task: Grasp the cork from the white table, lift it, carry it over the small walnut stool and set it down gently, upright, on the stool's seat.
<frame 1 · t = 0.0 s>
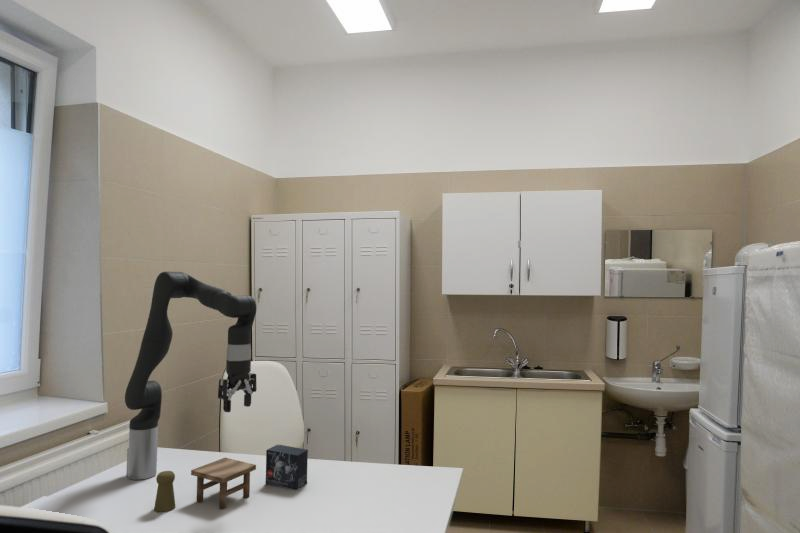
hand: (237, 409, 168), 29 cm above the table, fingers open, 8 cm apart
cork: (164, 509, 162), on the table
stool: (223, 498, 170), on the table
small box: (286, 484, 183), on the table
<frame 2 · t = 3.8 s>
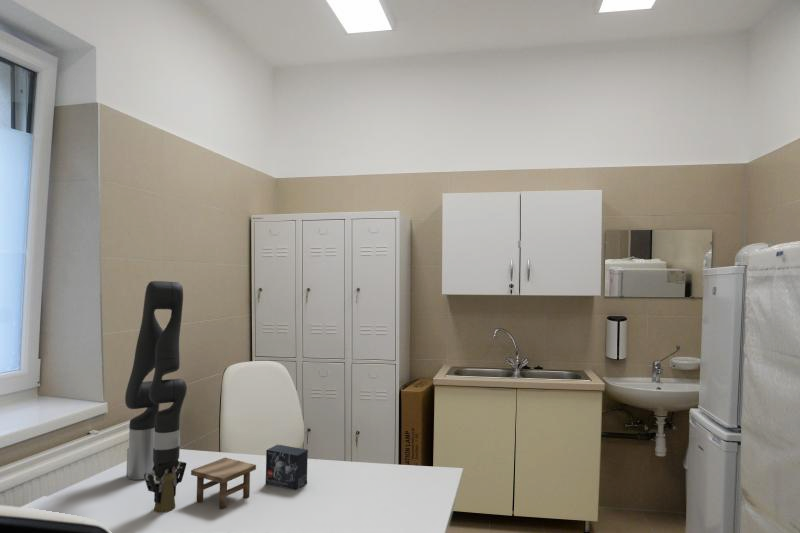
hand: (164, 500, 162), 2 cm above the table, fingers closed on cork, 4 cm apart
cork: (164, 508, 162), on the table, touching gripper
everything else where it was.
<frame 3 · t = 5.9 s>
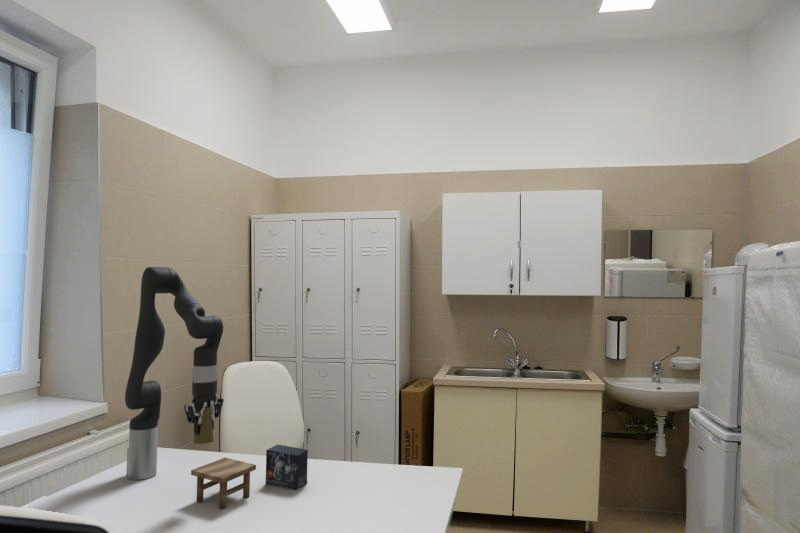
hand: (203, 433, 167), 22 cm above the table, fingers closed on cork, 4 cm apart
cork: (203, 441, 167), point 19 cm above the table, touching gripper
everything else where it was.
when the fingers open (14 cm above the table, at t = 8.0 s): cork drops 1 cm, resting on stool.
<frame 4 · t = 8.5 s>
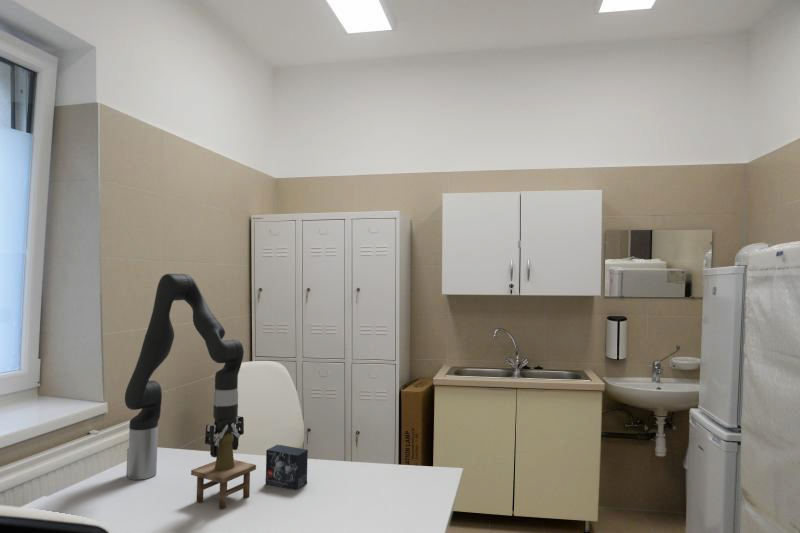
hand: (224, 453, 170), 15 cm above the table, fingers open, 8 cm apart
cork: (224, 467, 170), point 10 cm above the table, touching stool
everything else where it was.
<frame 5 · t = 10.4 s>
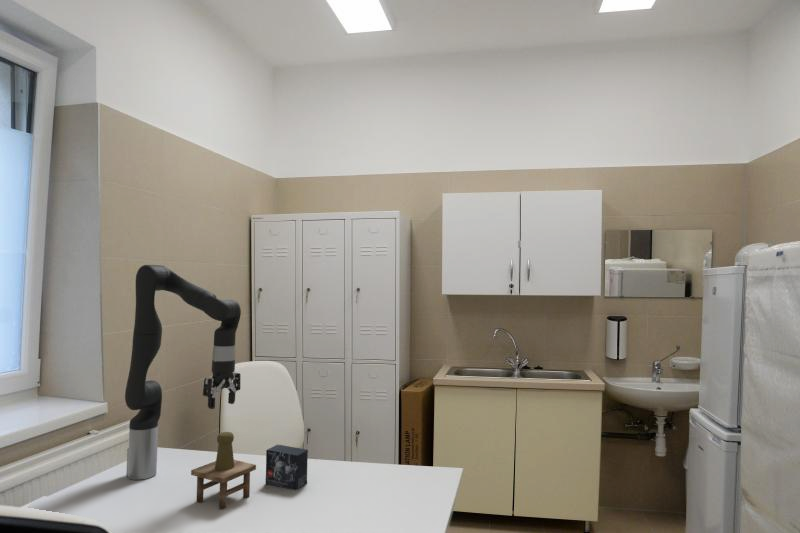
hand: (221, 406, 180), 27 cm above the table, fingers open, 8 cm apart
nothing on the table moved.
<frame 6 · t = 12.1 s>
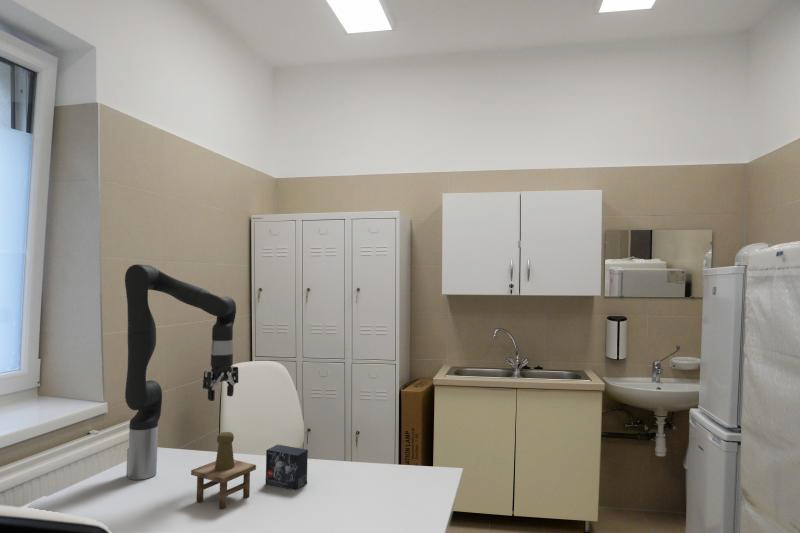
hand: (220, 398, 188), 28 cm above the table, fingers open, 8 cm apart
nothing on the table moved.
at the end: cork inside the target area on the stool (0.3 cm from its centre), point 9.8 cm above the stool's base; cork tilted 0°; the gripper is holding nothing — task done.
